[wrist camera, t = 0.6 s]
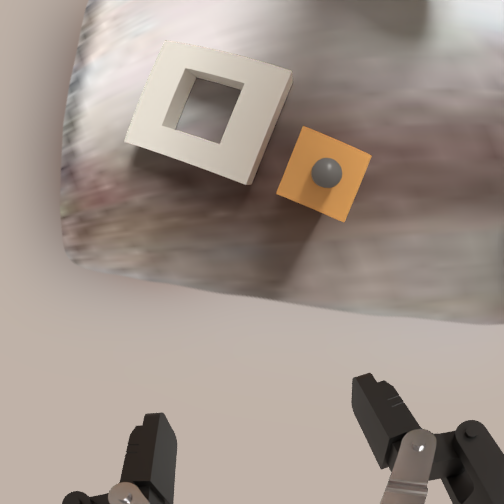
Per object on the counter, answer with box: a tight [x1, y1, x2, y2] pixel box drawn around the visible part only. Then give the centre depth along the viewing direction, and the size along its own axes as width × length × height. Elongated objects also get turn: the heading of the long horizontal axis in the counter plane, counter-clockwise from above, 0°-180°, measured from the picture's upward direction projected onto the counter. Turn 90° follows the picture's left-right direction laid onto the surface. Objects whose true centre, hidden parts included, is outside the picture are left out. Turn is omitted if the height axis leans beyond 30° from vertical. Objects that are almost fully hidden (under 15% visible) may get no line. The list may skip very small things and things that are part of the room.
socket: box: [124, 40, 293, 185], centre depth 30 cm, size 14×12×4 cm
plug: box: [276, 126, 372, 222], centre depth 24 cm, size 4×4×16 cm
